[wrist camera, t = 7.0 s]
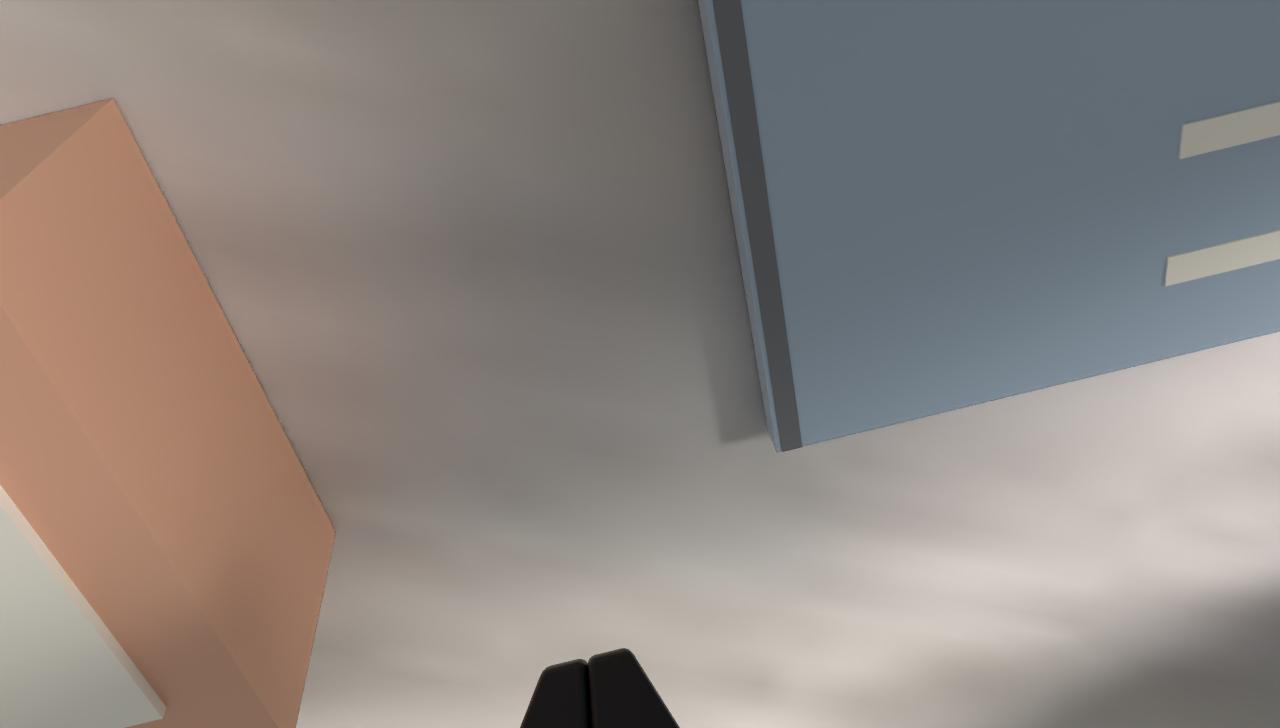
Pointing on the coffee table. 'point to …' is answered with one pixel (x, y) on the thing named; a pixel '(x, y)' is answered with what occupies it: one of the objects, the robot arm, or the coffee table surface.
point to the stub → (136, 461)
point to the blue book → (992, 194)
